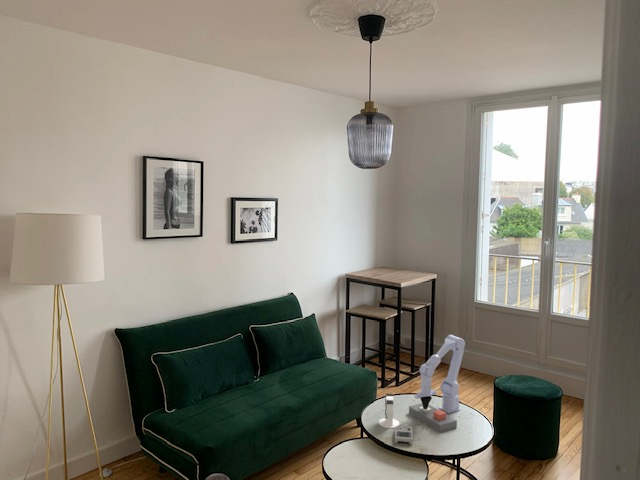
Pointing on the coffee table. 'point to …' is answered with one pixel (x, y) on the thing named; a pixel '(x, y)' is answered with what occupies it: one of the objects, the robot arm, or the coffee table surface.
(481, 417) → the coffee table surface
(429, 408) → the plug
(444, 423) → the console
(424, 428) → the coffee table surface
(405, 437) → the handheld gaming device
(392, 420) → the white post stand
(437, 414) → the red plug
